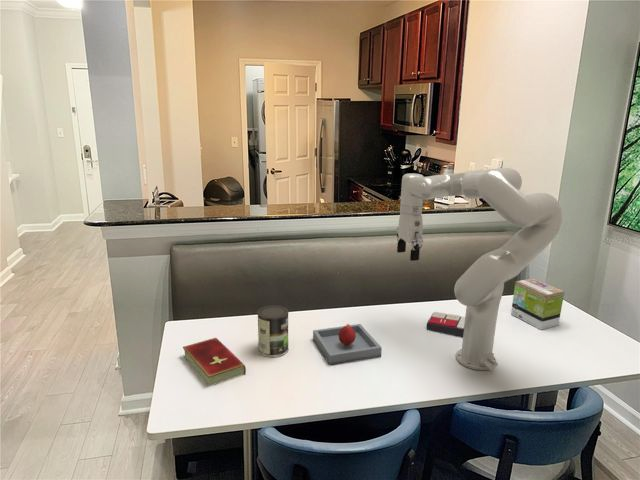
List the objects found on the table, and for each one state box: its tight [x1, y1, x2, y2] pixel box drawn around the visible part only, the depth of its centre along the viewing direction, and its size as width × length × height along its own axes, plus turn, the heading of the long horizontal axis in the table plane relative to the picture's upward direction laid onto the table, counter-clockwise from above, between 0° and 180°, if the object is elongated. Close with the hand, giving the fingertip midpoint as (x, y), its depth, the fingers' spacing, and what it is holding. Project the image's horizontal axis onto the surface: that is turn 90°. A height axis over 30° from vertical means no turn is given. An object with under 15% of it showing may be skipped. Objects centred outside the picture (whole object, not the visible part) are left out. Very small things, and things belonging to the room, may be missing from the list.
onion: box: [338, 323, 356, 346], centre depth 158 cm, size 6×6×8 cm
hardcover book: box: [182, 337, 247, 387], centre depth 148 cm, size 12×21×4 cm, turn 36°
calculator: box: [426, 311, 465, 339], centre depth 175 cm, size 11×4×15 cm
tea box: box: [510, 277, 565, 331], centre depth 181 cm, size 15×10×15 cm, turn 25°
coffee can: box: [256, 305, 290, 358], centre depth 156 cm, size 10×10×14 cm
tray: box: [312, 323, 382, 366], centre depth 159 cm, size 18×18×4 cm
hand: (407, 256), depth 167 cm, fingers open, 9 cm apart
